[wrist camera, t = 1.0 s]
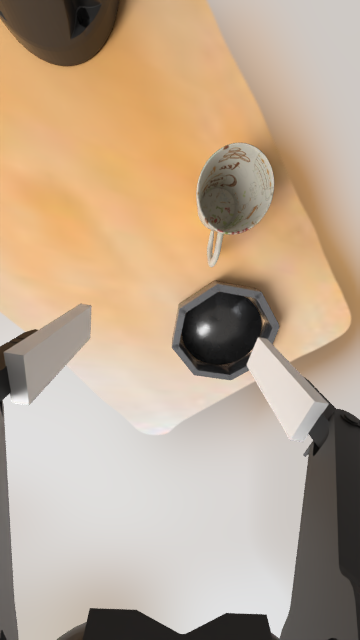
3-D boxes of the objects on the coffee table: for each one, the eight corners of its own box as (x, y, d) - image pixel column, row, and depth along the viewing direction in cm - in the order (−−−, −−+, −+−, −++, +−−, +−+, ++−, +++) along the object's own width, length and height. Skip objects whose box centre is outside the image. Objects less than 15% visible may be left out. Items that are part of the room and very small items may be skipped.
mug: (248, 181, 28) (285, 148, 19) (231, 267, 33) (253, 275, 23) (194, 173, 28) (203, 136, 18) (184, 261, 32) (187, 267, 23)
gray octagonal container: (184, 275, 33) (185, 277, 30) (282, 293, 34) (291, 297, 32) (167, 362, 39) (167, 371, 37) (250, 374, 41) (256, 383, 38)
